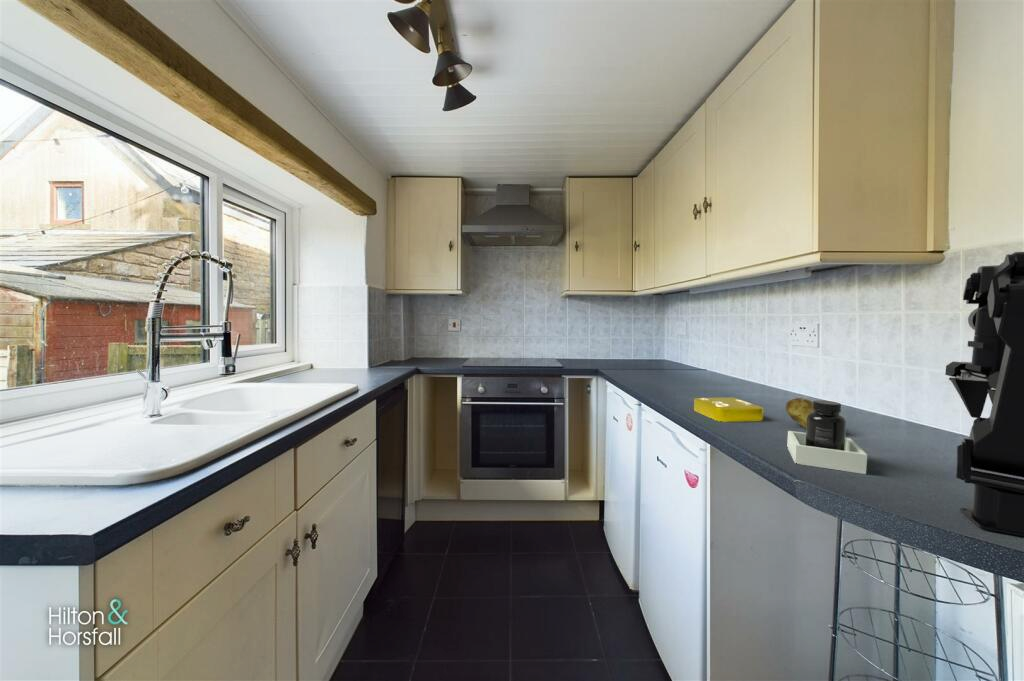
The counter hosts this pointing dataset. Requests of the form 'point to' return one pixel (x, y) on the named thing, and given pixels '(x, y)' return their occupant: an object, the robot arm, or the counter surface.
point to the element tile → (728, 409)
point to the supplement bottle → (826, 426)
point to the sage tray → (827, 454)
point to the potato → (799, 410)
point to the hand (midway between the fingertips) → (990, 423)
